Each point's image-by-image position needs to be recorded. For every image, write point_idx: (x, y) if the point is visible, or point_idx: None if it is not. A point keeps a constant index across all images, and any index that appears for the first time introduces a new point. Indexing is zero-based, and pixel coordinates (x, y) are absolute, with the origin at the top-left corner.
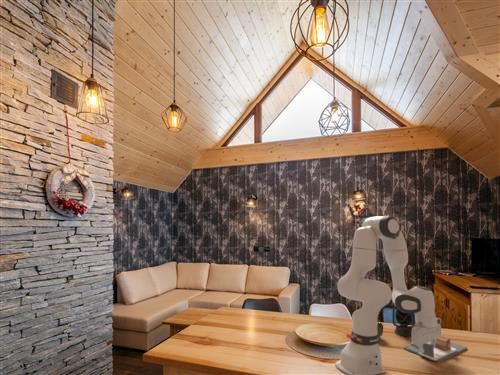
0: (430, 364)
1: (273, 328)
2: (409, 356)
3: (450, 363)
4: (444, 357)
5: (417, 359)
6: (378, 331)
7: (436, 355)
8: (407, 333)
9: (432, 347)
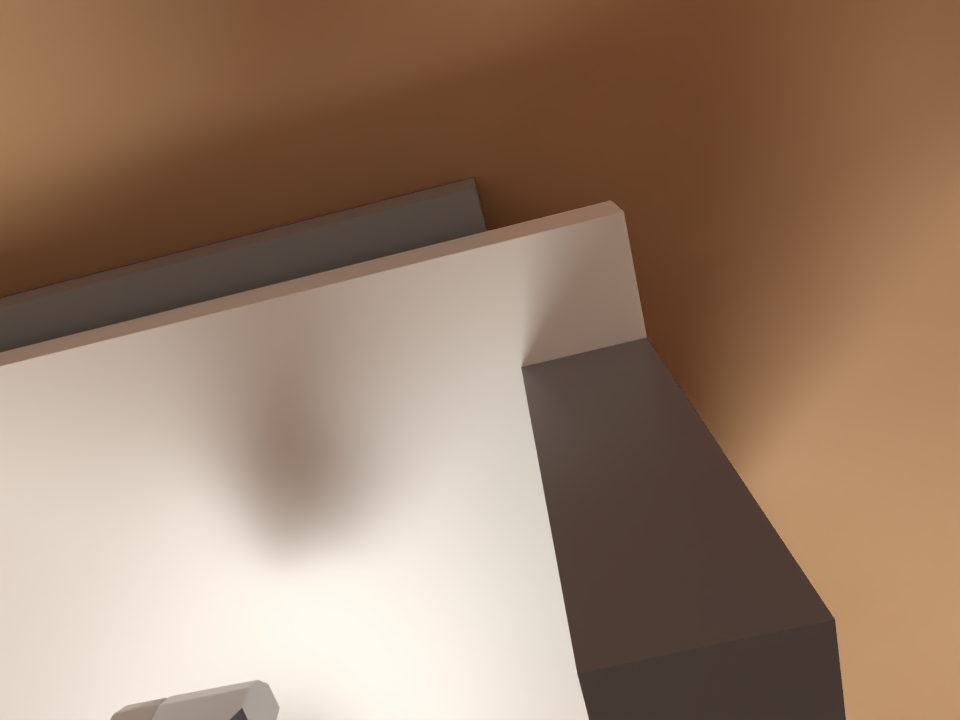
0: (846, 181)
1: None
2: (926, 714)
3: (83, 18)
4: (35, 319)
5: (896, 539)
6: None
7: (330, 417)
8: None
9: (672, 581)
